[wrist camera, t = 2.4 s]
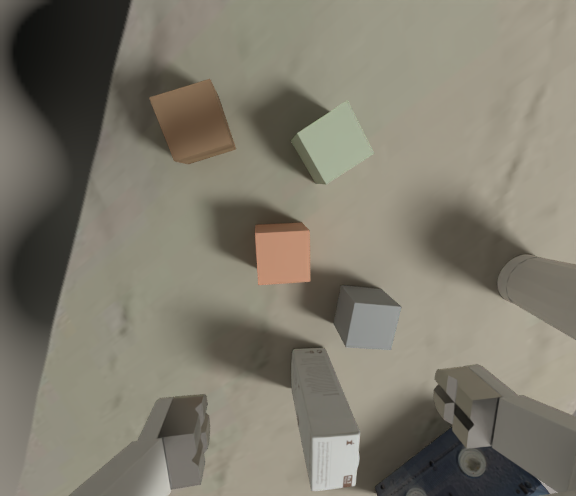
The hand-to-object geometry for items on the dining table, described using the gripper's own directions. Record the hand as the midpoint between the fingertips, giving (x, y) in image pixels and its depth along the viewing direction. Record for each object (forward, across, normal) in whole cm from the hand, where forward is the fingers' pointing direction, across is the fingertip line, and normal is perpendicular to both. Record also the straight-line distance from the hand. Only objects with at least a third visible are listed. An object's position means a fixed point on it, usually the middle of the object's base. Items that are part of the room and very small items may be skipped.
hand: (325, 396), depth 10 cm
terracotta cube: (+22, 0, 0) cm, 22 cm away
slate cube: (+22, -9, +8) cm, 25 cm away
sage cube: (+22, -5, -10) cm, 25 cm away
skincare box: (+22, -3, +16) cm, 27 cm away
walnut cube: (+22, +7, -12) cm, 26 cm away
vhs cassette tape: (+23, -20, +32) cm, 44 cm away
